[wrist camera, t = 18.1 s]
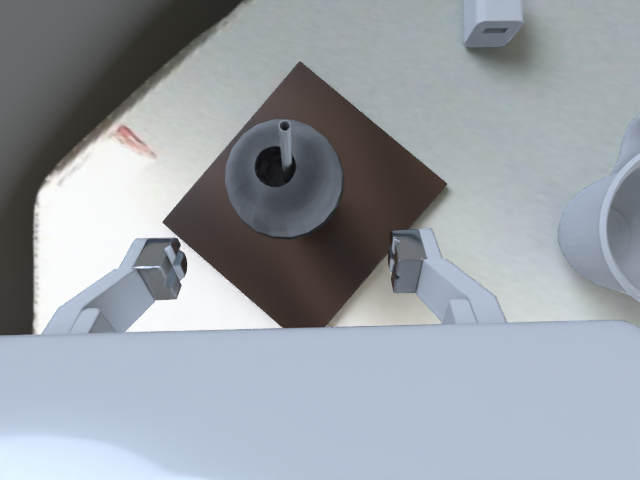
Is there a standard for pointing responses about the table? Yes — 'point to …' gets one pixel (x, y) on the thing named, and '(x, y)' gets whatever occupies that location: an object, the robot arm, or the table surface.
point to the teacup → (608, 223)
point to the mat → (331, 239)
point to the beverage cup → (284, 179)
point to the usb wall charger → (491, 22)
